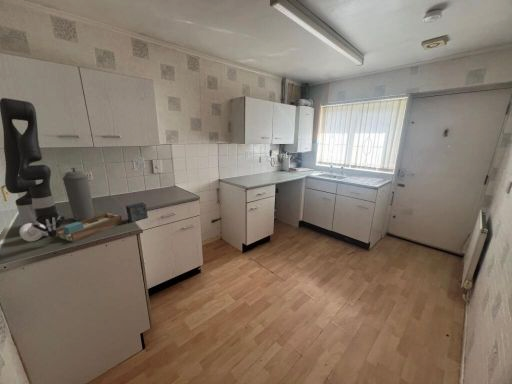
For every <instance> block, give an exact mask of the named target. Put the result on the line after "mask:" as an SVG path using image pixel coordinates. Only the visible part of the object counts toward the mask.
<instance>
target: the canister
mask: <svg viewBox="0 0 512 384" xmlns="http://www.w3.org/2000/svg"><path fill="white" fill-rule="evenodd" d="M70 169H71V170H72V171H68V172H66V173H65V175H64V176H63V177H62V180H63V184H64V187H65V191H66V195H67V199H68V203H69V206H70V209H71V213H72V216H73V220H74V221H75V222H80V221H83V220H86V219H89V218H92V217H95V212H94V205H93V200H92V199H93V198H92V193H91V189H90V188H91V187H90V182H89V176H88V175H87V174H86V173H84V172H83V171H80V170H79V171H78V170H76V169H77V167H71V168H70Z"/></svg>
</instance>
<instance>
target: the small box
mask: <svg viewBox="0 0 512 384" xmlns="http://www.w3.org/2000/svg"><path fill="white" fill-rule="evenodd" d="M125 209H126V214H127V220H128V222H130V223H135V222H138V221H141V220H145V219H148V218H149V217H148V211H147V205H146V203H144V202H137V203H133V204H129V205H125Z"/></svg>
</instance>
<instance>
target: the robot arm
mask: <svg viewBox="0 0 512 384" xmlns="http://www.w3.org/2000/svg"><path fill="white" fill-rule="evenodd" d="M36 111H37V110H36V108H35V106H34V104H33V103H32V102H30V101H25V100H19V99H14V98H7V97H2V98H1V99H0V116H1V123H2V130H3V132H2V133H3V150H4V151H3V152H4V158H5V159H4V160H5V161H4V162H5V175H4V176H5V177H4V184H5V188H6V190H7V191H8V192H9V193H10V194H21V193H25V194H23V195H22V196H21V197H19V198H16V200H15V204H16V209H17V212H18V214H19V218H20V221H21V224H22V226H23V225H25V224H28V223H32V225H31V226H33V227H35V228H37V229H39V230H41V231H44V232H46V231H47V233H48V236H47V237H50V238H56V237H57V236H58V234H57V231H56V229H58V228H61V227H60V226H61V225H62V224H63V222H64V220H65V218H66V217H65V216H63V215H60V214H59V213H58V211H57V207H56V204H55V203H56V202H55V199H54V197H53V194H52V190H51V186H50V185H51V184H50V182H51V176H52V171H51V168H50V167H49V166H48V165H46V164H36V165H35V164H34V165H33V164H32V163H36V162H40V161H42V159H43V156H42V152H41V147H40V142H39V133H38V132H39V131H38V129H39V128H38V120H37V119H38V117H37V112H36ZM14 120H15V121H27V126H26V129H25V131H24V132H23V133H21V132H20V131H19V129H17V127H16V126H15V124H14V123H13V121H14ZM31 164H32V165H31ZM40 180H42V181H41V182H39V183H38V184H37V181H40ZM39 223H40V224H42V225H44V227H45V228H46V229H44V228H42V227H40V224H39ZM28 231H29V229H28ZM28 233H29V232H28Z"/></svg>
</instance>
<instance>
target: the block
mask: <svg viewBox="0 0 512 384" xmlns="http://www.w3.org/2000/svg"><path fill="white" fill-rule="evenodd" d="M62 227H63V230H64V233H65V234H69V235H70V234H71V233H73V232H75V231H78V230H81V229H84V227H83V223H80V221H75V222H72V223H70V224H66V225H63V226H62Z"/></svg>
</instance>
